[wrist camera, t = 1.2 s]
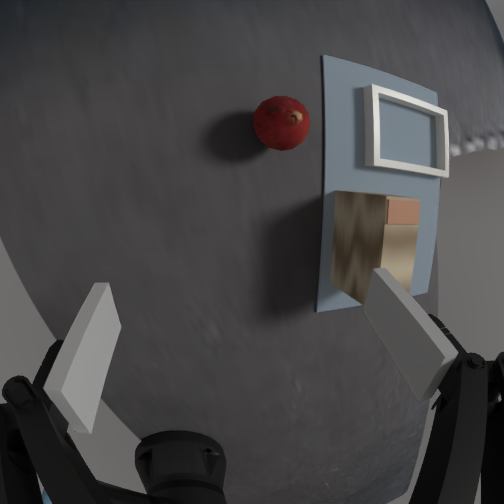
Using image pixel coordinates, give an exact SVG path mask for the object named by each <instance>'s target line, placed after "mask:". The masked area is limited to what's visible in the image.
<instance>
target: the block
mask: <svg viewBox="0 0 504 504" xmlns="http://www.w3.org/2000/svg"><path fill="white" fill-rule="evenodd" d="M419 213H420V199H419V198H412V197H404V196H396V195H388V194H380V193H371V192H358V191H340V190H335V210H334V230H333V245H332V259H331V271H330V284H332V285H333V286H335V287H336V288H338V289H339V290H341V291H342V292H344V293H345V294H347V295H348V296H350V297H351V298H353V299H354V300H356V301H357V302H359V303H360V304H362V305H363V306H364V305H365V301H366V297H367V293H368V289H369V285H370V281H371V276H372V272H373V269H377V268H386V269H387V270H388V271H389V272H390V273H391V274H392V275H393V277H394V278H395V279H396V280H397V281H398V282H399V283H400V284H401V285H402V286H403V287H404V289H405V290H406V291H407V292H408V293H409V292H410V286H411V280H412V274H413V267H414V260H415V252H416V244H417V235H418V224H419Z"/></svg>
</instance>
